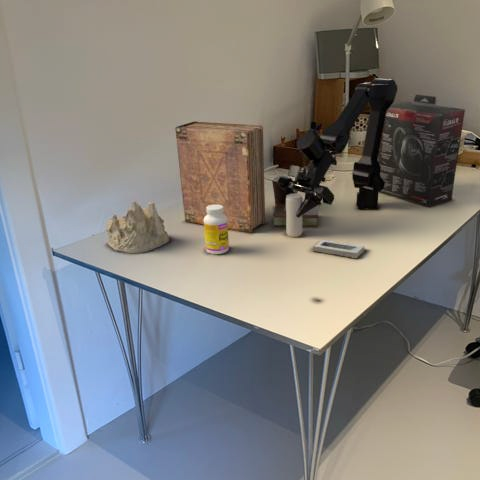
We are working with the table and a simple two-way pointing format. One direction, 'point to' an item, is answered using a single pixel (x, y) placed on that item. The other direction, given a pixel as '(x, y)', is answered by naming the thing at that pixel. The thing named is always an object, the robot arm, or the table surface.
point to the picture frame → (339, 249)
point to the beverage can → (293, 215)
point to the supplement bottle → (216, 230)
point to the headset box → (420, 150)
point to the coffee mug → (280, 190)
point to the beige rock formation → (137, 230)
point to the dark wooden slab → (307, 219)
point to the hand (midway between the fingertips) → (290, 214)
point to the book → (222, 172)
